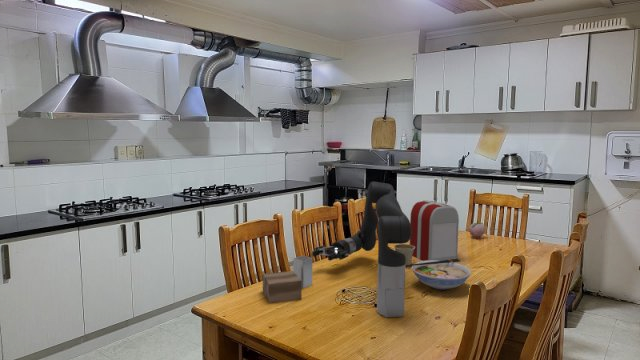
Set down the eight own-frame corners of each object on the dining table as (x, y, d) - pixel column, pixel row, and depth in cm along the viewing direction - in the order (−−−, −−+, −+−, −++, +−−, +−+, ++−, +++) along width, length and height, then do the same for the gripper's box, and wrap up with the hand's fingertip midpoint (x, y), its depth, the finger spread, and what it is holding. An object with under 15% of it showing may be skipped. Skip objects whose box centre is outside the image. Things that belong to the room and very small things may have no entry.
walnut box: (301, 299, 161) (301, 280, 161) (269, 303, 158) (269, 284, 157) (293, 288, 173) (293, 270, 172) (262, 291, 169) (262, 273, 168)
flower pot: (414, 268, 197) (415, 250, 196) (393, 267, 199) (393, 248, 198) (414, 262, 207) (414, 244, 206) (394, 261, 208) (394, 243, 208)
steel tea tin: (312, 284, 177) (312, 258, 175) (303, 288, 173) (303, 261, 171) (302, 281, 180) (302, 255, 179) (293, 285, 176) (293, 258, 175)
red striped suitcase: (435, 251, 227) (437, 199, 223) (458, 260, 210) (460, 204, 207) (408, 254, 221) (409, 200, 217) (428, 264, 204) (430, 206, 201)
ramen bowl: (426, 300, 161) (426, 278, 160) (398, 279, 183) (399, 260, 182) (485, 294, 168) (486, 273, 167) (452, 274, 189) (452, 256, 189)
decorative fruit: (474, 235, 260) (474, 219, 259) (487, 238, 253) (487, 221, 252) (465, 238, 254) (465, 221, 253) (478, 240, 247) (479, 223, 246)
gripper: (331, 236, 200) (308, 244, 188) (357, 242, 191) (334, 250, 179) (331, 252, 201) (307, 261, 189) (356, 259, 192) (334, 268, 180)
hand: (320, 256), depth 184 cm, fingers open, 8 cm apart
